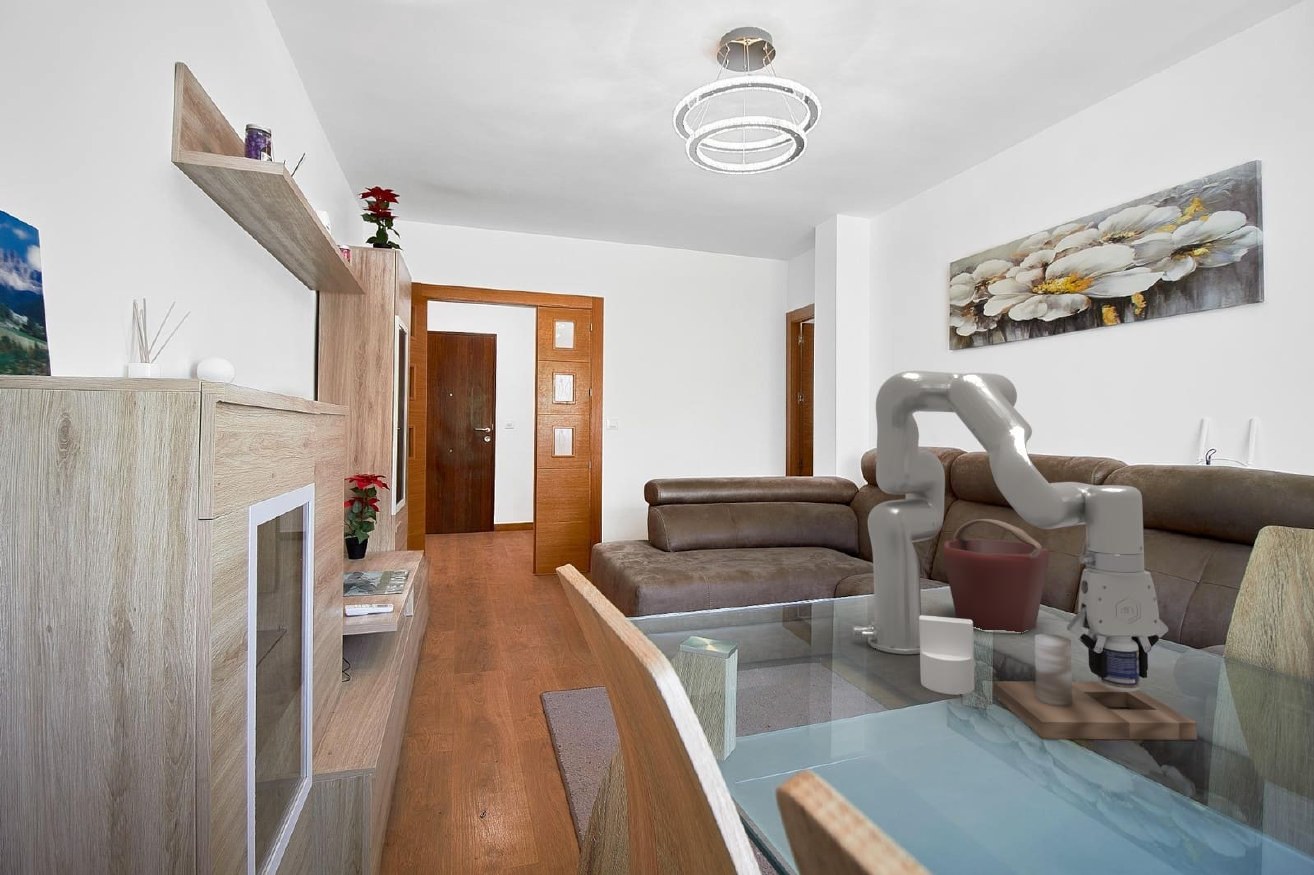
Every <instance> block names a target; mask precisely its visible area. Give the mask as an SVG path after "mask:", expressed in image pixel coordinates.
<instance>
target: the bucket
mask: <svg viewBox="0 0 1314 875" xmlns="http://www.w3.org/2000/svg"><path fill="white" fill-rule="evenodd" d="M981 523H982V524H983V523H987V524H991V525H994V526H995V527H998V528H1001V529H1003V530H1004V531H1007V532H1009V533H1011V535H1013V536H1014V537H1015V538H1016V539H1017V540H1018V541H1011V540H999V539H998V540H997V539H985V538H976V539H975V538H974V539H972V538H971V539H966V538H965V536H966V535H967V534H968V532H969V531H970V529H972V528H973V527H975V526H977V525H979V524H981ZM1049 558H1050V556H1049V548H1045V547H1042V545H1041V543H1040V542H1038V541H1037V540H1036V539H1035V538H1033V537H1031V536H1030V535H1029V534H1028V533H1027V532H1025V530H1023V529H1021V528H1019V527H1018V526H1017V527H1016V526H1014V525H1012V524H1010V523H1008V522H1005V521H1001V520H998V519H991V518H982V519H981V518H980V519H978V518H977V519H973V520H971V521H970V520H969V521H968V522H965V523H964V524H962V525H961V526H960V527H958V528H957V530H956V531H955V533H954V534H953V540H945V541H944V545H943V562H944V566H945V571H946V576H947V579H948V580H947V581H948V586H949V589H950V594H951V598H952V602H953V608H954V611H955V615H956V617H955V618H959V619H970V620H972V621H973V627H976V628H980V629H982V630H1006V631H1015V632H1021V633H1022V632H1024V631H1026V630H1029V631H1031V630H1033V629H1035V628H1036V627H1037V620H1038V616H1039V612H1040V606H1041V602H1042V595H1043V592H1044V587H1045V582H1046V578H1047V577H1046V576H1047V572H1048V566H1049V563H1050V560H1049Z"/></svg>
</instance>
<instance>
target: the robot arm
mask: <svg viewBox="0 0 1314 875" xmlns="http://www.w3.org/2000/svg"><path fill="white" fill-rule="evenodd" d="M1017 400H1018V393H1017V389H1016V387H1015V385H1014V383H1013V382H1012V381H1011V380H1010V379H1009V378H1007V377H1006V376H1004V375H1001V374H997V373H985V372H968V373H961V372H943V371H927V370H909V371H908V370H907V371H902V372H898V373H896V374H894V375H892V376H890V377H889V378H887V379H886V380H885V381H884V382H883V383H882V385H881V386H880V388H879V390H878V392H877V395H876V399H875V415H876V416H875V418H876V429H877V432H876V433H877V434H876V436H877V437H876V457H875V458H876V461H875V462H876V463H875V464H876V465H875V477H876V478H875V479H876V483H877V485H878V488H879V489H880V490H881V491H882V492H884V493H886V494H889V495H905V499H904V498H903V499H894V500H887V501H886V500H885V501H883V502H880V503H878V504H876V505H875V506H874V507H873V508H872V509H871V510H870V512H869V514H868V518H867V529H868V534H869V538H870V543H871V550H872V551H871V552H872V562H873V564H872V565H873V566H872V567H873V568H872V569H873V593H874V594H873V595H874V598H873V599H874V600H873V601H874V605H873V606H874V620H871V621H870V624H867V625H866V626H862V625H853V626H852V634H853V636H861V638H867V643H868V645H869V644H870V645H871V646H870V645H869V646H870V647H872V648H873V649H875V648H876V649H875V650H878V651H881V652H884V653H889V654H895V655H896V654H898V655H918V654H920V633H919V617H920V616H921V615H922V602H921V601H922V600H921V595H922V594H921V568H920V567H921V566H920V560H919V557H918V554H917V552H916V549H915V547H914V545H913V543H916V542H921V541H922V542H923V541H927V540H930V539H931V540H932V539H933V538H935V537H937V535H939V533H940V532H941V529H942V527H943V525H944V524H943V522H944V517H945V493H946V492H945V486H946V475H945V469H944V466H943V464H942V462H941V460H940V458H939V457H938V456H937V455H936V454H934V453H933V452H931V451H928V450H924V449H919V440H920V432H919V427H918V424H917V421H916V419H915V417H914V415H913V414H914V413H916V412H917V413H918V412H925V413H928V412H929V413H931V412H932V413H933V412H935V413H937V412H939V413H954V414H956V416H957V417H958V418H959V420H961V422H962V423H963V424H964V425H965V427H966V428H967V429H968V430H969V432H970V433H971V434H972V435H973V437H974V438H975V439H976V441H978V442H979V444H980V445H981V446H982V448H983V449H984V450H985V452H986V453H987V454H988V460H989V465H990V470H991V475H992V476H993V477H992V478H993V479H994V482H995V484H996V486H997V488H998V490H999V492H1000V493H1001V494H1002V496H1003V497H1004V498H1005V499H1006V501H1007V502H1008V504H1009V505H1010V506H1011V507H1012V508H1013V509H1014V511H1015V512H1016V513H1017V515H1019V516H1020V517H1021V518H1022V520H1024V521H1025V522H1026V523H1028V524H1029V525H1031V526H1033V527H1035V528H1038V529H1042V530H1053V529H1060V528H1065V527H1074V526H1079V525H1080V526H1081V525H1085V536H1086V537H1085V539H1086V540H1085V541H1086V542H1085V544H1086V545H1085V546H1086V550H1085V554H1084V555H1079V557H1078V560H1079V563H1080V564H1082V565H1085V567H1086V568H1084V569H1083V570H1082V574H1081V578H1080V584H1079V590H1078V591H1079V592H1078V610H1077V612H1078V613H1077V614H1075V616H1074V617H1073V619H1072V620H1071V621H1070V622H1069V623H1068V624H1067V625H1066V630H1068V632H1069V633H1071V634H1072V635H1073V636H1074V637H1076V638H1077V640H1079V642H1081V643H1082V644H1083V645H1084V647H1086V648H1087V650H1088V652H1087V654H1088V668H1089V669H1090V672H1091V673H1092V674H1094V675H1096V676H1097V677H1098V676H1099V677H1101V678H1106V677H1107V661H1106V654H1105V653H1103V652H1102V650H1103V647H1104V643H1105V640H1106V637H1131V639H1132V640H1134V641H1135V642H1136V643H1137V644H1138V650H1139V678H1141V679H1147V678H1148V671H1149V661H1148V660H1149V659H1148V657H1149V656H1148V653H1151V652H1152V650H1153V649H1152V647H1154V646H1155V645H1156V643H1158V641H1159V639H1160V638H1162V637H1163V636H1164V635H1165V634H1166V633H1168V632H1169V627H1168V626H1167V625H1166V624H1165V622H1163V621H1162V620H1161V619H1160V615H1159V606H1158V605H1159V604H1158V599H1157V593H1156V588H1155V585H1154V581H1153V578H1152V575H1151V572H1149V571H1147V570H1145V552H1144V550H1145V548H1144V518H1143V517H1144V515H1143V512H1144V511H1143V499H1142V498H1143V497H1142V493H1141V491H1140V490H1139V489H1138V488H1136V487H1135V486H1129V485H1119V484H1118V485H1114V484H1111V485H1110V484H1107V485H1096V484H1095V485H1094V484H1090V483H1083V482H1077V481H1064V482H1051V483H1049V482H1048V480H1047V479H1046V477H1044V476H1043V475H1042V474H1041V473H1040V472H1041V471H1039V470H1038V468H1036V466H1035V464H1033V462H1032V460H1031V459H1030V457H1029V455H1028V451H1027V442H1028V441H1029V440H1030V439H1031V437H1032V434H1033V428H1032V426H1031V425H1030V424H1029V422H1027V420H1026V419H1025V418H1024V417H1023V416H1022V415H1021V413H1020V412H1018V410H1017V409H1016V408H1015V405H1016V403H1017ZM1083 629H1086V630H1088V631H1087V633H1086V632H1084V631H1083Z"/></svg>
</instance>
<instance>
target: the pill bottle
mask: <svg viewBox="0 0 1314 875" xmlns="http://www.w3.org/2000/svg"><path fill="white" fill-rule="evenodd" d="M1102 652H1103V653H1105V654H1106V661H1107V677H1106V678H1101V677H1099V676H1097V678H1098V680H1097V681H1098V682H1099V683H1100V684H1101V685H1102V686H1104V687H1106V688H1109V689H1112V690H1116V691H1123V692H1133V691H1137V690H1140V685H1141V684H1140V683H1141V682H1140V676H1139V650H1138V644H1137V643H1136V642H1135V641H1134V640H1132V639H1131V637H1106V640H1105V643H1104V647H1103V650H1102Z"/></svg>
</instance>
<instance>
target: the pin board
mask: <svg viewBox="0 0 1314 875" xmlns="http://www.w3.org/2000/svg"><path fill="white" fill-rule="evenodd" d="M1034 658H1035V664H1034V665H1035V680H1034V681H1032V680H1030V681H1029V680H1028V681H1026V680H1025V681H1022V680H1021V681H1019V680H1018V681H1017V680H1016V681H1013V680H1012V681H1011V680H1010V681H1007V680H1003V681H1002V680H1001V681H1000V680H999V681H998V680H997V681H993V682H992V689H993V690H992V691H993V694H992V695H995V698H996V699H997V698H998V699H1000V701H1001V702H1002V703H1004V704H1005V705H1006V706H1007V707H1008V708H1010V710H1011V711H1010V710H1009V711H1010V712H1011V713H1012V714H1014V713H1015V714H1016V715H1017V716H1018V717H1020V718H1021V719H1020V718H1019V719H1020V720H1021V721H1022V723H1024V722H1025V723H1026V724H1025V723H1024V724H1025V725H1027V726H1028V727H1029V726H1030V727H1031V728H1032V729H1033V730H1034V732H1035V733H1036V734H1037V735H1038V736H1039V737H1040V738H1041V739H1043V740H1044V739H1045V740H1048V739H1050V740H1051V739H1052V740H1158V741H1160V740H1162V741H1163V740H1164V741H1165V740H1173V741H1175V740H1176V741H1177V740H1178V741H1180V740H1183V741H1185V740H1186V741H1188V740H1189V741H1192V740H1193V741H1197V740H1198V733H1197V731H1198V728H1197V722H1196V721H1194V720H1192V719H1190V718H1189V717H1187V716H1185V715H1183V714H1182V713H1180V712H1178V711H1177V710H1175V709H1173V708H1171V707H1169V706H1168V705H1165V704H1164V703H1162V702H1160V701H1159V700H1157V699H1155V698H1154V697H1152V696H1151V695H1148V694H1147V693H1145V692H1143V691H1141V690H1140V689H1139V690H1137V691H1133V692H1123V691H1116V690H1112V689H1109V688H1106V687H1104V686H1102V685H1101V684H1100V683H1099V681H1091V680H1090V681H1082V680H1081V681H1073V676H1072V675H1073V673H1072V672H1073V668H1072V666H1073V665H1072V664H1073V663H1072V640H1071V639H1070V638H1068V637H1066V636H1063V635H1057V634H1052V633H1051V634H1050V633H1039V634H1035V635H1034ZM998 699H997V700H998ZM1000 701H999V702H1000ZM1001 702H1000V703H1001ZM1002 703H1001V704H1002ZM1004 704H1003V705H1004ZM1005 705H1004V706H1005ZM1006 706H1005V707H1006ZM1007 707H1006V708H1007ZM1008 708H1007V709H1008ZM1109 708H1128V709H1109ZM1015 714H1014V715H1015ZM1016 715H1015V716H1016ZM1017 716H1016V717H1017ZM1030 727H1029V728H1030ZM1031 728H1030V729H1031ZM1032 729H1031V730H1032ZM1033 730H1032V731H1033Z"/></svg>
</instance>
